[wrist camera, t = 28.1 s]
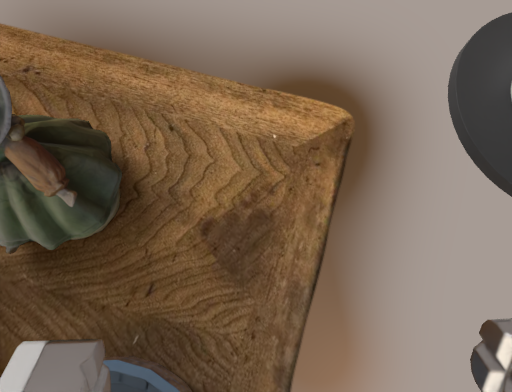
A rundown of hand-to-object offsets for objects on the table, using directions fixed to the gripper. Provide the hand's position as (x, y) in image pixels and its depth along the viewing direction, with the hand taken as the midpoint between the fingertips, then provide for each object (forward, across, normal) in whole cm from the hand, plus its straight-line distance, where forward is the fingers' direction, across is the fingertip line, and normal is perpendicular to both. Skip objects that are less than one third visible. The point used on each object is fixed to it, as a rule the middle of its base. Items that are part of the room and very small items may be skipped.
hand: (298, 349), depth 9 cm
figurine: (+32, +18, +12) cm, 39 cm away
